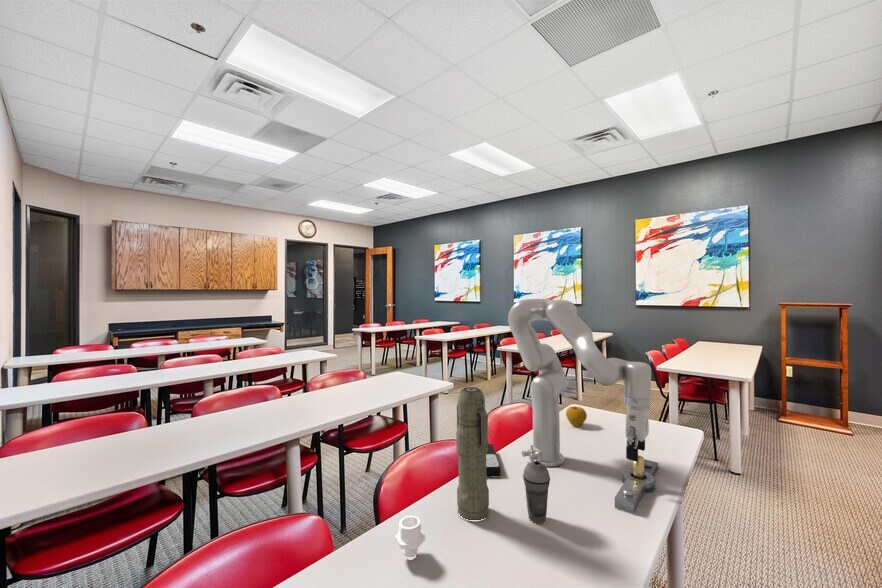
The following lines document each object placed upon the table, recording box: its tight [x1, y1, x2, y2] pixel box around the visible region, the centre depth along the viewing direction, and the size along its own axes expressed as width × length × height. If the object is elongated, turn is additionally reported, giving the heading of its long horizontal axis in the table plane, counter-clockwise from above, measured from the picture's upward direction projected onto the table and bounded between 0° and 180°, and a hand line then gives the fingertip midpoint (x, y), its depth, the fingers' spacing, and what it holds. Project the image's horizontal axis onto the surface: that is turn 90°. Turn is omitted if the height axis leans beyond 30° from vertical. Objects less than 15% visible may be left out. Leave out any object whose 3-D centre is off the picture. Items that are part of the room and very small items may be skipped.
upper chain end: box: [614, 468, 656, 515], centre depth 111 cm, size 22×9×4 cm, turn 140°
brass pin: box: [632, 454, 645, 480], centre depth 116 cm, size 3×3×9 cm
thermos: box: [455, 386, 490, 520], centre depth 103 cm, size 9×12×35 cm
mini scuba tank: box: [522, 444, 551, 525], centre depth 100 cm, size 7×7×20 cm
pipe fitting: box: [394, 515, 426, 557], centre depth 87 cm, size 6×7×8 cm
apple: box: [565, 406, 588, 428], centre depth 168 cm, size 9×9×9 cm
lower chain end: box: [622, 458, 659, 494], centre depth 121 cm, size 22×9×2 cm, turn 140°
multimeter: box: [486, 443, 501, 477], centre depth 132 cm, size 13×19×5 cm
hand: (635, 454), depth 116 cm, fingers open, 9 cm apart
